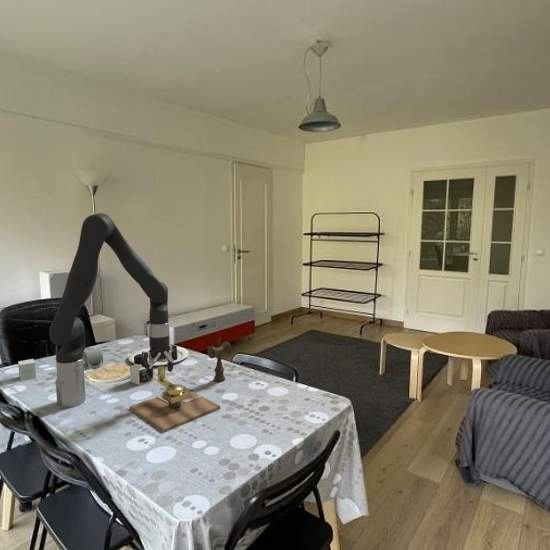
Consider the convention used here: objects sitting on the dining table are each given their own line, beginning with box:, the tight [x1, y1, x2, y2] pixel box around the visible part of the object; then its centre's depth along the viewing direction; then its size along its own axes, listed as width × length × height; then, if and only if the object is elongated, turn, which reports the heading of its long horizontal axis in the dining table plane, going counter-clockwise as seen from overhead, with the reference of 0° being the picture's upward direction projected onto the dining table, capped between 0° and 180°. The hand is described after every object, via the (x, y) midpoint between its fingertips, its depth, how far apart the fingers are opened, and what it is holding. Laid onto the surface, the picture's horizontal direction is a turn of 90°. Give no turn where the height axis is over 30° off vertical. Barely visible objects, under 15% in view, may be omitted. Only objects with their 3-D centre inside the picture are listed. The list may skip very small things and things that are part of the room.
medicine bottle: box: [129, 354, 154, 386], centre depth 173 cm, size 7×7×12 cm
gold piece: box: [157, 365, 188, 404], centre depth 150 cm, size 15×9×9 cm, turn 44°
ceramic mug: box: [83, 347, 104, 369], centre depth 192 cm, size 11×8×8 cm
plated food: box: [127, 346, 189, 367], centre depth 203 cm, size 30×30×3 cm
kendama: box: [206, 336, 232, 382], centre depth 174 cm, size 6×10×20 cm, turn 134°
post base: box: [129, 388, 221, 433], centre depth 148 cm, size 24×24×6 cm
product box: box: [17, 358, 37, 382], centre depth 176 cm, size 6×6×7 cm
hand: (160, 374), depth 154 cm, fingers open, 8 cm apart
